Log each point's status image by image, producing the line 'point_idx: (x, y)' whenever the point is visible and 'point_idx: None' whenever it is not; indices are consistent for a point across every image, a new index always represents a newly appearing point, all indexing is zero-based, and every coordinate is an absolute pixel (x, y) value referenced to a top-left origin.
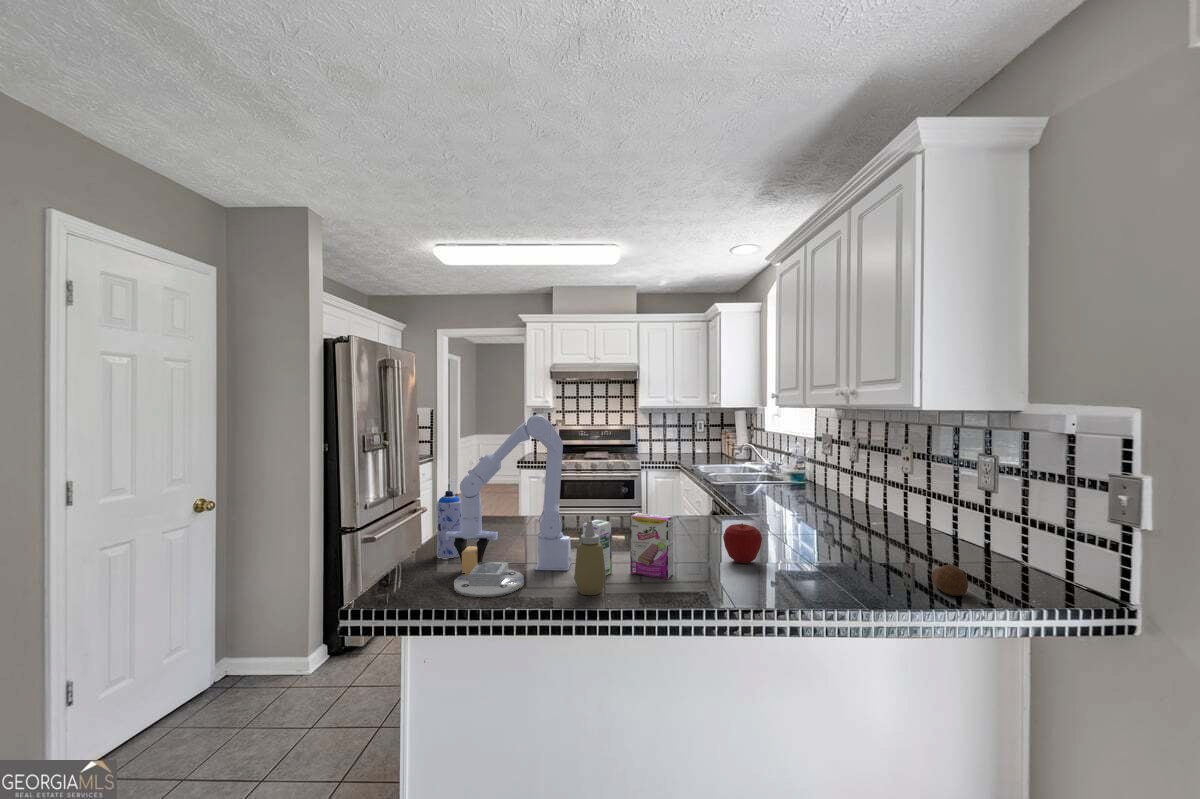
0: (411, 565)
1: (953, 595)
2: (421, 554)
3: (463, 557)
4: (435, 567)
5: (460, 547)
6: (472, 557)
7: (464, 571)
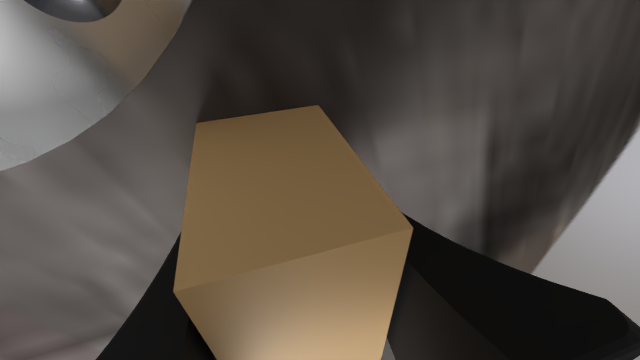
0: (586, 170)
1: None
2: (527, 270)
3: (357, 185)
4: (492, 173)
5: (473, 299)
6: (235, 212)
7: (303, 115)
